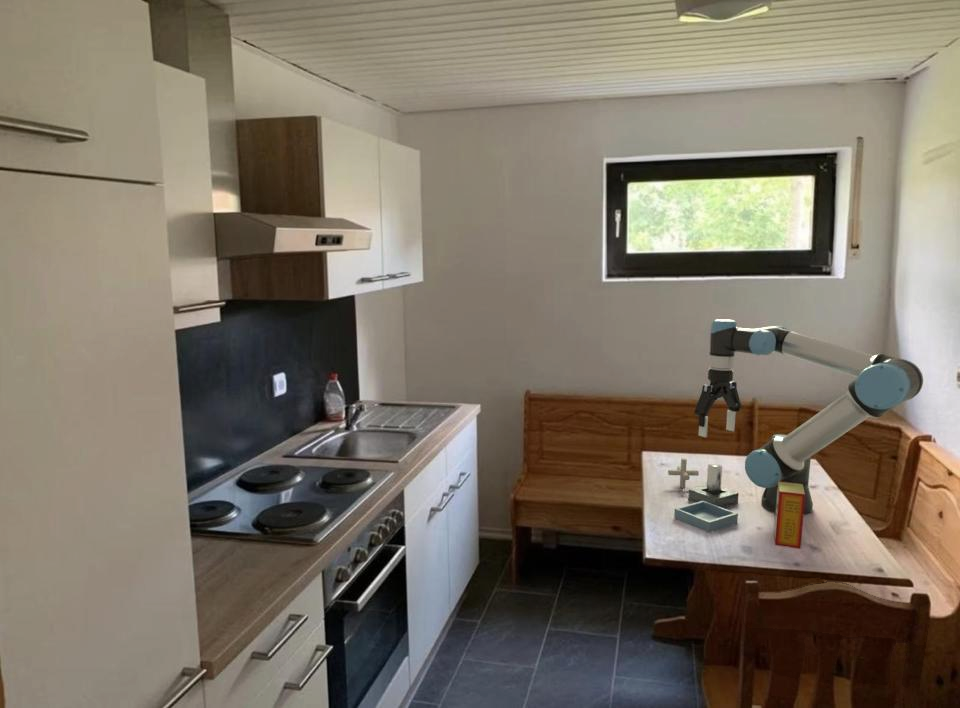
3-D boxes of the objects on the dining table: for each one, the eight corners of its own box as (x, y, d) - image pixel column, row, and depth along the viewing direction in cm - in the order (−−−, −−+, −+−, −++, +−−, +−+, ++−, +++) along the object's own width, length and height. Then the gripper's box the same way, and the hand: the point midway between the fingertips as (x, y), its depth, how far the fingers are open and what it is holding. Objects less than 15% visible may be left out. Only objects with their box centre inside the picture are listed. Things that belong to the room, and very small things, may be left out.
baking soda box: (773, 532, 211) (778, 479, 208) (798, 535, 209) (802, 482, 206) (775, 545, 202) (779, 490, 200) (800, 548, 200) (805, 493, 197)
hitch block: (737, 503, 235) (738, 492, 234) (715, 509, 229) (716, 499, 228) (710, 493, 244) (710, 483, 243) (688, 499, 238) (688, 489, 237)
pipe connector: (701, 492, 245) (702, 463, 243) (671, 491, 245) (673, 463, 243) (693, 482, 255) (694, 454, 253) (664, 481, 255) (666, 454, 253)
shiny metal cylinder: (722, 502, 235) (725, 466, 234) (714, 504, 233) (716, 468, 231) (711, 498, 239) (714, 463, 237) (703, 500, 237) (705, 465, 235)
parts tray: (737, 523, 217) (738, 513, 217) (708, 532, 210) (709, 522, 210) (702, 510, 228) (702, 500, 227) (674, 518, 221) (674, 508, 220)
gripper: (735, 363, 239) (731, 425, 243) (685, 369, 226) (681, 435, 229) (755, 366, 233) (750, 430, 236) (704, 373, 219) (700, 441, 223)
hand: (716, 433), depth 233 cm, fingers open, 13 cm apart
